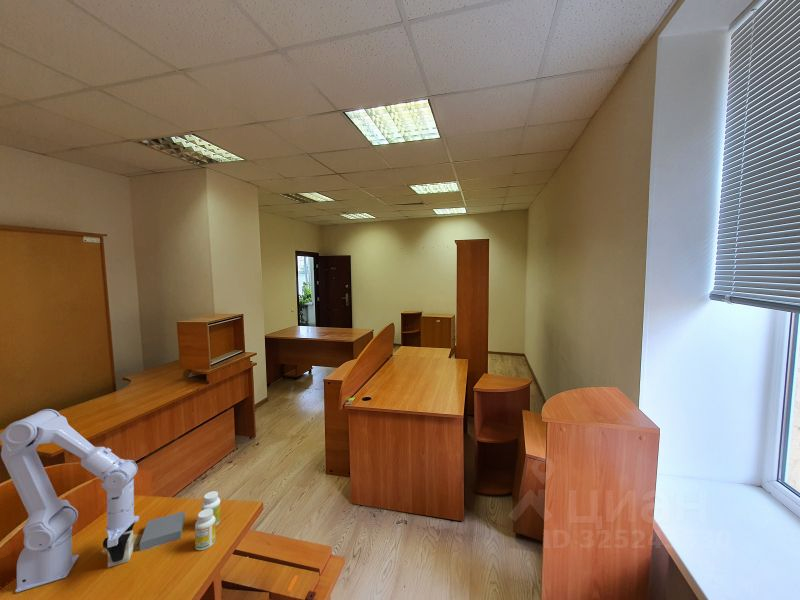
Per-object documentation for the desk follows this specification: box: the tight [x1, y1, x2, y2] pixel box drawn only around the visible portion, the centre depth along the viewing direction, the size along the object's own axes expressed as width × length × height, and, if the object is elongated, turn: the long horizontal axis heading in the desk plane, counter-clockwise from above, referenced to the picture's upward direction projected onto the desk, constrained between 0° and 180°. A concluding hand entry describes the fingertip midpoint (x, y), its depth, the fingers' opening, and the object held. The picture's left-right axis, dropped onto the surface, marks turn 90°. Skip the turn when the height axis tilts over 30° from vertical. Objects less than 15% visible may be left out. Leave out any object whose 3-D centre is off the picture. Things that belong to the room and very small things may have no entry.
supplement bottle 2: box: [194, 508, 217, 551], centre depth 94 cm, size 5×5×10 cm
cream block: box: [107, 529, 134, 568], centre depth 89 cm, size 4×4×6 cm
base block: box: [139, 510, 186, 552], centre depth 98 cm, size 10×10×3 cm
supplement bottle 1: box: [201, 490, 221, 526], centre depth 103 cm, size 5×5×10 cm
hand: (120, 553), depth 89 cm, fingers closed on cream block, 4 cm apart
